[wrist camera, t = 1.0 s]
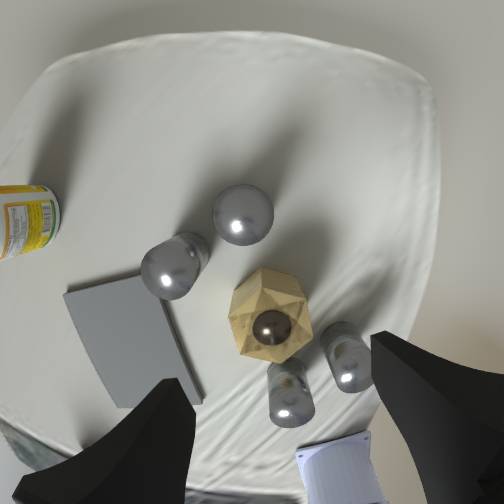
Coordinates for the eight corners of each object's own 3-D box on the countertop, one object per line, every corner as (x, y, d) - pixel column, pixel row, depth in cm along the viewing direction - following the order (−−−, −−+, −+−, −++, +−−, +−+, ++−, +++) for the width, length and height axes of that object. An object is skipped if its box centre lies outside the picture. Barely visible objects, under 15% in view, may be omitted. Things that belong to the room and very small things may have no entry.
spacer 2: (273, 226, 19) (280, 237, 14) (229, 237, 19) (221, 252, 14) (262, 182, 18) (265, 177, 13) (218, 193, 18) (205, 193, 13)
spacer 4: (358, 349, 21) (380, 384, 16) (322, 359, 21) (338, 398, 16) (355, 317, 20) (380, 349, 15) (317, 327, 20) (334, 364, 15)
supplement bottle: (71, 220, 19) (-19, 241, 9) (40, 258, 19) (-39, 290, 10) (44, 171, 18) (-42, 170, 8) (15, 211, 18) (-62, 225, 9)
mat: (203, 399, 22) (202, 404, 21) (119, 404, 22) (117, 407, 22) (153, 271, 19) (150, 273, 19) (66, 292, 20) (62, 294, 19)
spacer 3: (306, 381, 21) (317, 422, 16) (271, 389, 21) (274, 431, 16) (301, 353, 21) (312, 393, 16) (263, 361, 21) (265, 403, 16)
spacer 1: (214, 269, 19) (201, 293, 14) (174, 278, 19) (150, 304, 15) (202, 227, 19) (185, 238, 14) (162, 238, 19) (133, 252, 14)
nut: (304, 324, 20) (316, 356, 16) (247, 337, 20) (245, 371, 16) (291, 259, 19) (302, 278, 15) (229, 273, 19) (221, 296, 15)
